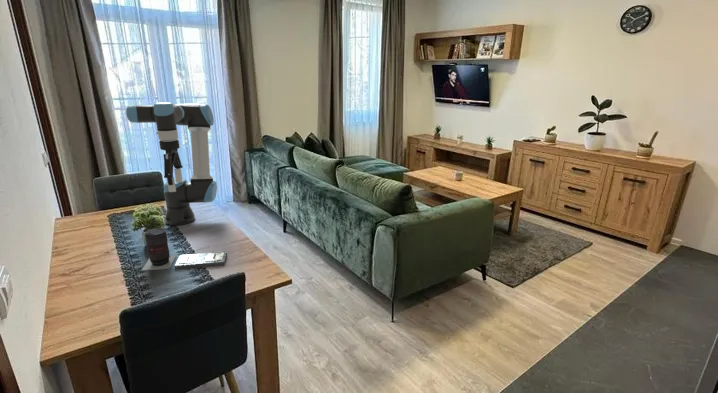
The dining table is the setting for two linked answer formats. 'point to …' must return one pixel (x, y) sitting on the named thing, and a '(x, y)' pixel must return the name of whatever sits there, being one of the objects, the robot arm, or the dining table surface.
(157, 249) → the camera lens
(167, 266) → the rubber mat
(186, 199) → the robot arm
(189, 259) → the psu chassis
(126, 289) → the dining table surface
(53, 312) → the dining table surface
